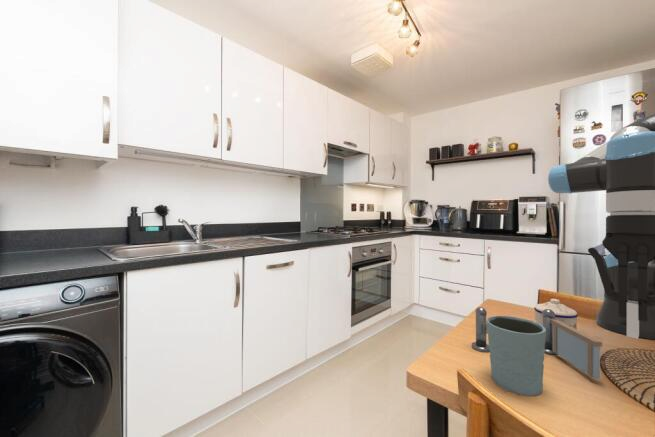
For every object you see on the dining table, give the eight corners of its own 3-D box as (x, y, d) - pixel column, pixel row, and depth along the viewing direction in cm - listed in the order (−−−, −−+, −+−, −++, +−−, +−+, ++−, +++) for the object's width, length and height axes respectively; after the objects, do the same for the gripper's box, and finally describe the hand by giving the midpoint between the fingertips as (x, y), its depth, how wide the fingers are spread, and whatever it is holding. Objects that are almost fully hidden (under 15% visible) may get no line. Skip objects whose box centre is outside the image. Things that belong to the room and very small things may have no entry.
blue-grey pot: (519, 402, 51) (519, 336, 51) (475, 372, 60) (475, 317, 60) (559, 392, 53) (559, 329, 53) (511, 365, 63) (511, 312, 63)
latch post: (489, 344, 74) (489, 304, 74) (497, 352, 69) (497, 310, 69) (468, 343, 74) (468, 304, 74) (475, 351, 70) (475, 309, 70)
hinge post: (552, 347, 72) (551, 306, 72) (564, 355, 68) (564, 312, 68) (533, 346, 73) (533, 306, 73) (545, 354, 68) (545, 311, 68)
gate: (551, 350, 68) (551, 319, 68) (557, 350, 68) (557, 319, 68) (594, 379, 56) (594, 341, 56) (602, 379, 56) (601, 342, 56)
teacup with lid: (571, 354, 68) (571, 306, 68) (528, 340, 76) (528, 298, 76) (586, 342, 75) (586, 298, 75) (545, 330, 83) (545, 291, 83)
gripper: (687, 214, 51) (686, 342, 51) (590, 214, 62) (590, 321, 61) (688, 213, 47) (688, 354, 47) (584, 214, 57) (583, 329, 57)
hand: (632, 335), depth 54 cm, fingers closed
